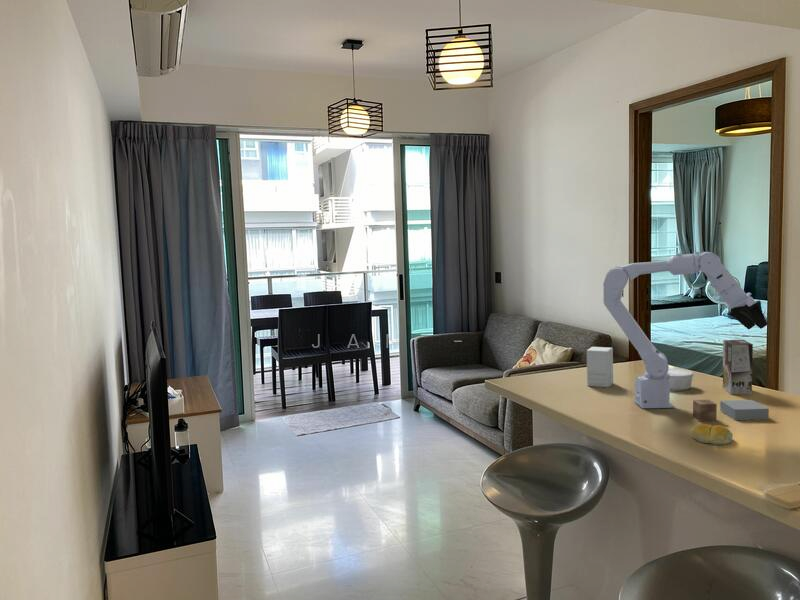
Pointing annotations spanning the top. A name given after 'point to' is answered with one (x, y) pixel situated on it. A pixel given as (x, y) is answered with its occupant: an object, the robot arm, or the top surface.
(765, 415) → the block
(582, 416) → the top surface
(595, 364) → the supplement box
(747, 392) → the coffee box
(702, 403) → the walnut block
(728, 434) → the bread roll
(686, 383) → the ramekin
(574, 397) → the top surface
